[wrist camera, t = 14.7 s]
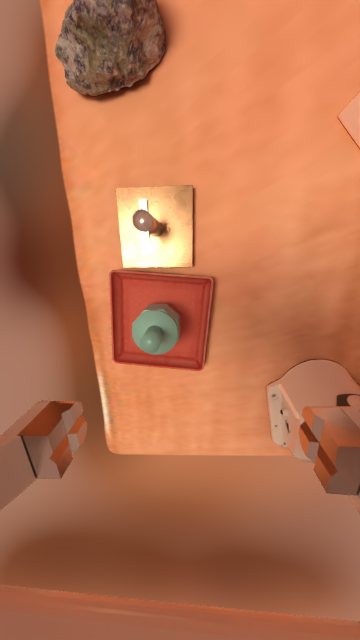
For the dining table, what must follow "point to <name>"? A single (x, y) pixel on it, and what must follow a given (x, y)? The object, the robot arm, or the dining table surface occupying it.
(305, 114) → the dining table surface
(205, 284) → the plant saucer
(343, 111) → the medicine bottle
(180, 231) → the post
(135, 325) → the cap
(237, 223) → the dining table surface
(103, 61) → the mineral rock
